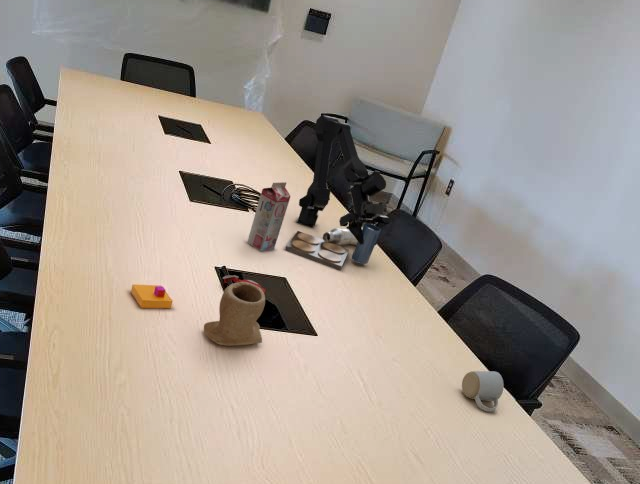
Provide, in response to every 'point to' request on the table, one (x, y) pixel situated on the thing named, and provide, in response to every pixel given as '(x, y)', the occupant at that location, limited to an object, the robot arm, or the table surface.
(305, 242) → the coaster board
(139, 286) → the orange tile with cube
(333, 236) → the silver metal bottle
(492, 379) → the ceramic mug
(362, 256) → the tumbler
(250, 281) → the tracker holder
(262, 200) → the juice carton
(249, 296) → the stone cup
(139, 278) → the table surface
